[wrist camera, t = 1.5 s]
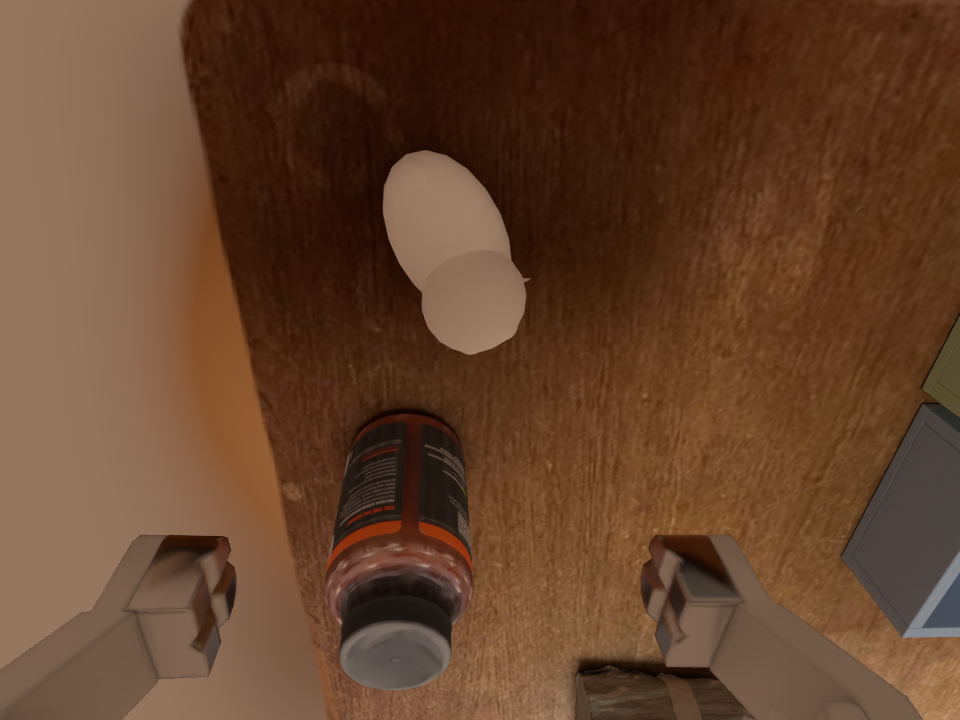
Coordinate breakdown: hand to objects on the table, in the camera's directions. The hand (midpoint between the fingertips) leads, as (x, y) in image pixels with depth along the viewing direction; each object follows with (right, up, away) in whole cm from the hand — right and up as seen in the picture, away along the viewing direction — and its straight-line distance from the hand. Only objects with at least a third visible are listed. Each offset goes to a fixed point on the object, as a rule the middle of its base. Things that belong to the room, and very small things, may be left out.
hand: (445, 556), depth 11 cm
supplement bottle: (-3, -1, +19) cm, 19 cm away
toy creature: (-1, +9, +13) cm, 16 cm away
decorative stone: (+13, -21, +32) cm, 40 cm away
